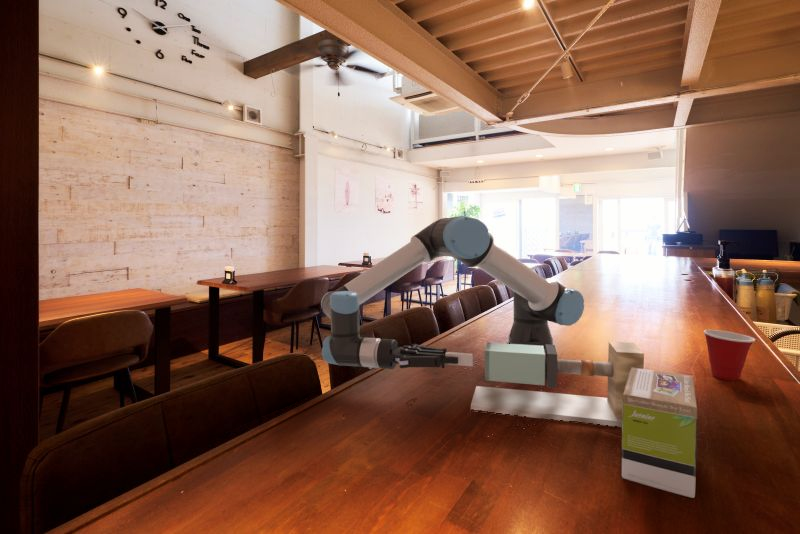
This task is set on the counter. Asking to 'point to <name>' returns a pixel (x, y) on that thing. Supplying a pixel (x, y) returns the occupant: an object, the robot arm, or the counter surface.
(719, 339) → the plastic cup
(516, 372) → the sleeve
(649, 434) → the tea box
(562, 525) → the counter surface
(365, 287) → the robot arm
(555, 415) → the pipe stand
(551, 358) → the dark grey square plate
